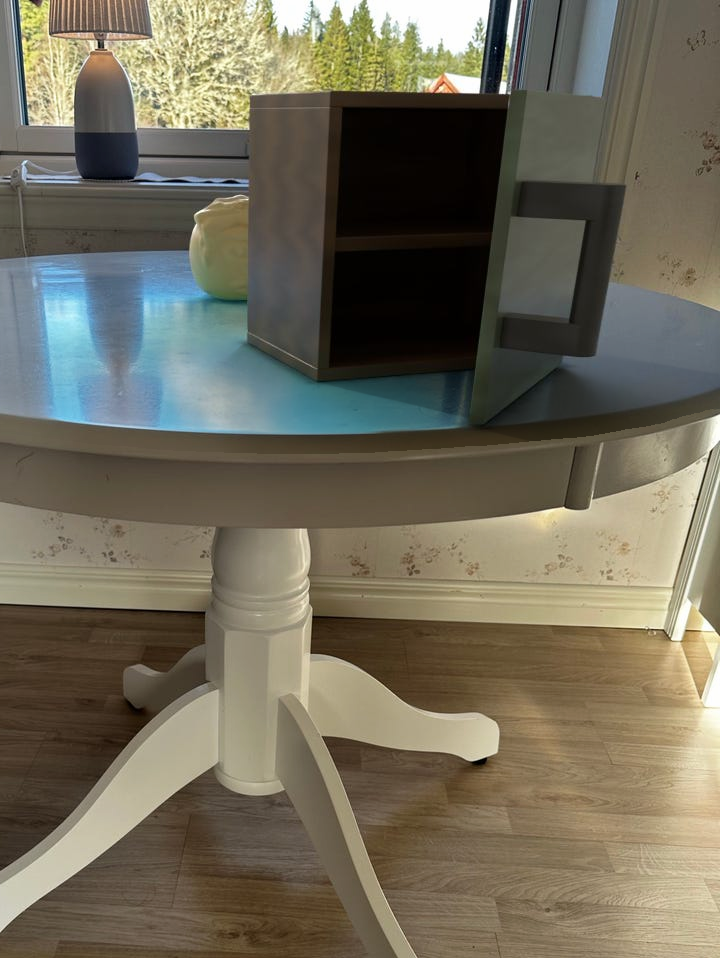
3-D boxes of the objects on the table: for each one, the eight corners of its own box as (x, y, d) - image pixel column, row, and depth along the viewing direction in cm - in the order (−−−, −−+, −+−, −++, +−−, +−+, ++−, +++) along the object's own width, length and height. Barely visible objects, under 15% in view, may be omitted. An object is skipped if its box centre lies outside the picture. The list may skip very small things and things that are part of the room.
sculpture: (200, 306, 105) (199, 199, 100) (182, 289, 115) (180, 191, 110) (300, 303, 107) (305, 198, 102) (274, 287, 117) (276, 190, 112)
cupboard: (550, 362, 82) (593, 95, 73) (316, 381, 75) (330, 90, 66) (452, 328, 95) (478, 98, 86) (246, 342, 89) (249, 94, 79)
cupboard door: (635, 372, 79) (692, 97, 69) (572, 439, 62) (636, 89, 52) (550, 362, 82) (593, 97, 72) (468, 423, 65) (510, 89, 55)
